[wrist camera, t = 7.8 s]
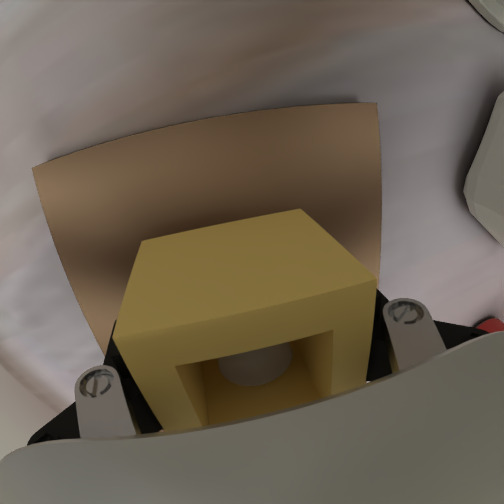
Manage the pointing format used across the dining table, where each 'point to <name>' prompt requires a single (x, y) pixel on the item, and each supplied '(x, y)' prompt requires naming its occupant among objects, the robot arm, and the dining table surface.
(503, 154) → the soap bottle
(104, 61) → the dining table surface
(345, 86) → the dining table surface
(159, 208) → the bracket base
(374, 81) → the dining table surface
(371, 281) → the link
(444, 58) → the dining table surface
